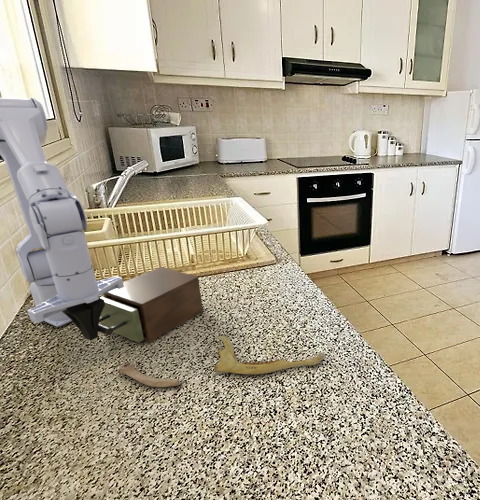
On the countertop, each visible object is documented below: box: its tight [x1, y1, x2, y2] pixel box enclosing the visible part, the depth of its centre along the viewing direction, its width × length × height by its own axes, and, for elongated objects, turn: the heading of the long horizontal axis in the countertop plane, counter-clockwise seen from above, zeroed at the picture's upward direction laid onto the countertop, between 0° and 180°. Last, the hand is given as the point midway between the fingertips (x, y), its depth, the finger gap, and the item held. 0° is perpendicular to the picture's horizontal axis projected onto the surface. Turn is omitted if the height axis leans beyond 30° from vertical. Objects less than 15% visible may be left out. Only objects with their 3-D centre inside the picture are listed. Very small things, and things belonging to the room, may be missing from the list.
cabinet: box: [103, 266, 204, 343], centre depth 79 cm, size 14×12×9 cm
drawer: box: [98, 296, 145, 344], centre depth 76 cm, size 17×10×7 cm, turn 154°
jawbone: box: [213, 335, 326, 375], centre depth 67 cm, size 21×9×2 cm, turn 79°
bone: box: [117, 362, 180, 388], centre depth 63 cm, size 3×11×2 cm, turn 72°
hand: (91, 337), depth 68 cm, fingers closed
